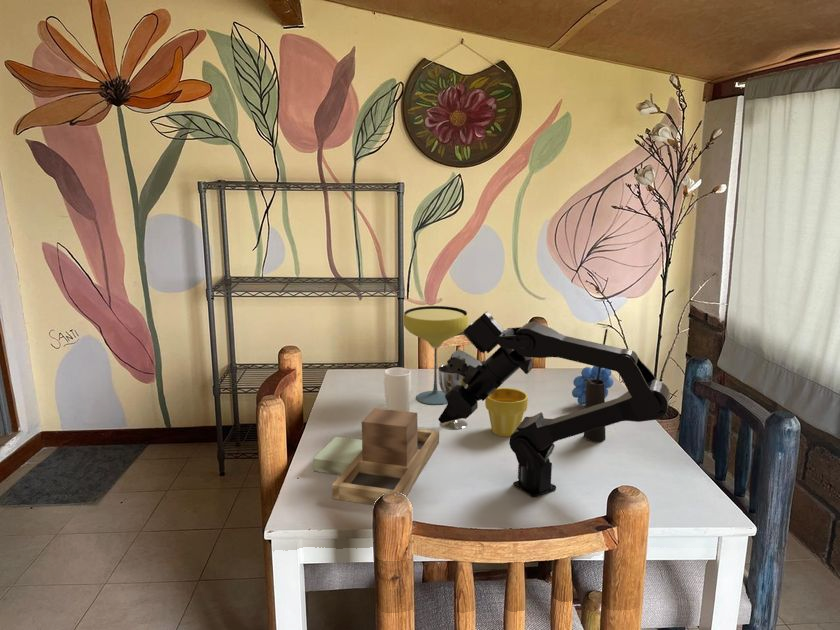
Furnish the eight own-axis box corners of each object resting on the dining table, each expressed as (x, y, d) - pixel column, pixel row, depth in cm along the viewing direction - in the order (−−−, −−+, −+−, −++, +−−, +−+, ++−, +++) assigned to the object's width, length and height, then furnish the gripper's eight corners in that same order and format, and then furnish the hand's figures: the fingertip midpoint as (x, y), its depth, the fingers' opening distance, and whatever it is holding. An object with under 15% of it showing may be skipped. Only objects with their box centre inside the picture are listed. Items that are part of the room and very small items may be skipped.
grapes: (605, 398, 183) (608, 358, 181) (615, 407, 177) (618, 365, 174) (565, 400, 182) (568, 360, 179) (574, 409, 176) (576, 367, 173)
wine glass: (450, 415, 171) (450, 361, 168) (475, 423, 166) (476, 367, 163) (431, 425, 165) (431, 369, 162) (456, 433, 160) (457, 375, 157)
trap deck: (439, 442, 155) (439, 431, 154) (398, 508, 125) (398, 494, 125) (351, 432, 161) (351, 421, 160) (293, 492, 132) (292, 479, 131)
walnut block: (417, 450, 144) (417, 412, 142) (406, 466, 136) (406, 426, 134) (375, 445, 146) (374, 408, 144) (362, 460, 139) (361, 421, 137)
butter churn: (562, 434, 159) (567, 324, 153) (589, 426, 164) (596, 319, 158) (590, 448, 152) (597, 333, 145) (617, 438, 157) (626, 327, 150)
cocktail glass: (468, 388, 192) (469, 306, 186) (465, 411, 175) (467, 321, 169) (407, 386, 194) (407, 305, 188) (399, 408, 176) (398, 319, 171)
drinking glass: (379, 430, 162) (378, 373, 159) (393, 420, 168) (392, 365, 165) (403, 435, 159) (402, 377, 156) (416, 425, 165) (416, 369, 162)
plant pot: (525, 441, 155) (526, 403, 153) (482, 438, 157) (483, 400, 155) (527, 425, 165) (528, 388, 163) (486, 421, 167) (487, 386, 165)
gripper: (485, 329, 141) (439, 373, 148) (453, 351, 124) (404, 399, 131) (520, 367, 139) (472, 409, 146) (493, 395, 123) (441, 441, 130)
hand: (448, 413), depth 138 cm, fingers open, 9 cm apart
